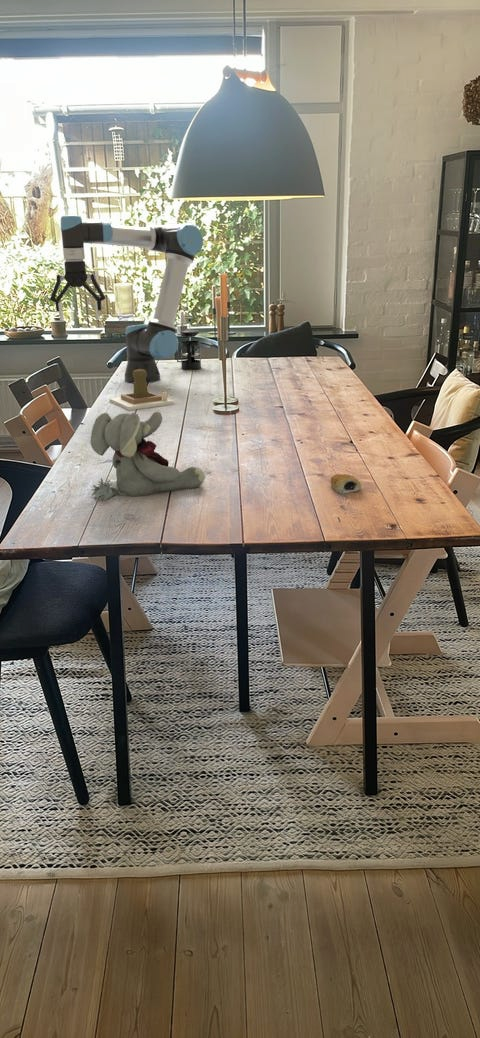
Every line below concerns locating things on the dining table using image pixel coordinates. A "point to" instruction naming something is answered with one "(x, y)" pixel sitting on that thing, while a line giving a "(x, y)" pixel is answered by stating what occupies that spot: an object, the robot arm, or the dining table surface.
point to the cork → (140, 384)
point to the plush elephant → (137, 458)
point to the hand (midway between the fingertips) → (79, 320)
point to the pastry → (345, 483)
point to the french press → (190, 350)
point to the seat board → (141, 401)
